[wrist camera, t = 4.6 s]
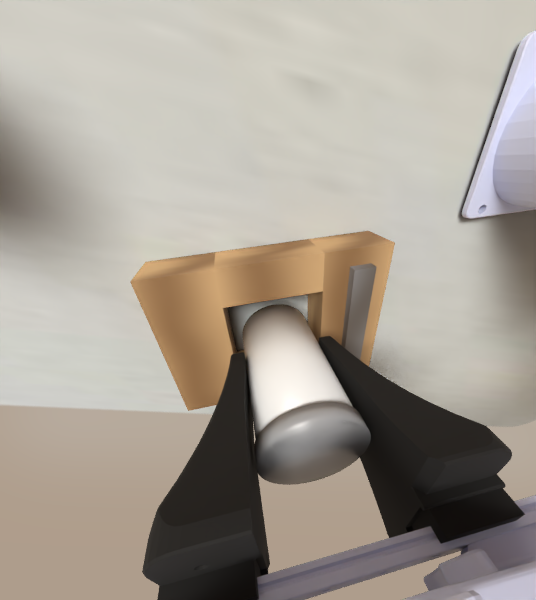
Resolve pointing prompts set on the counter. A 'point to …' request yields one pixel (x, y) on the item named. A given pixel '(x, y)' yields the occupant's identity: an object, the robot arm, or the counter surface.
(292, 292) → the jig
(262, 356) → the salt shaker
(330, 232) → the counter surface
